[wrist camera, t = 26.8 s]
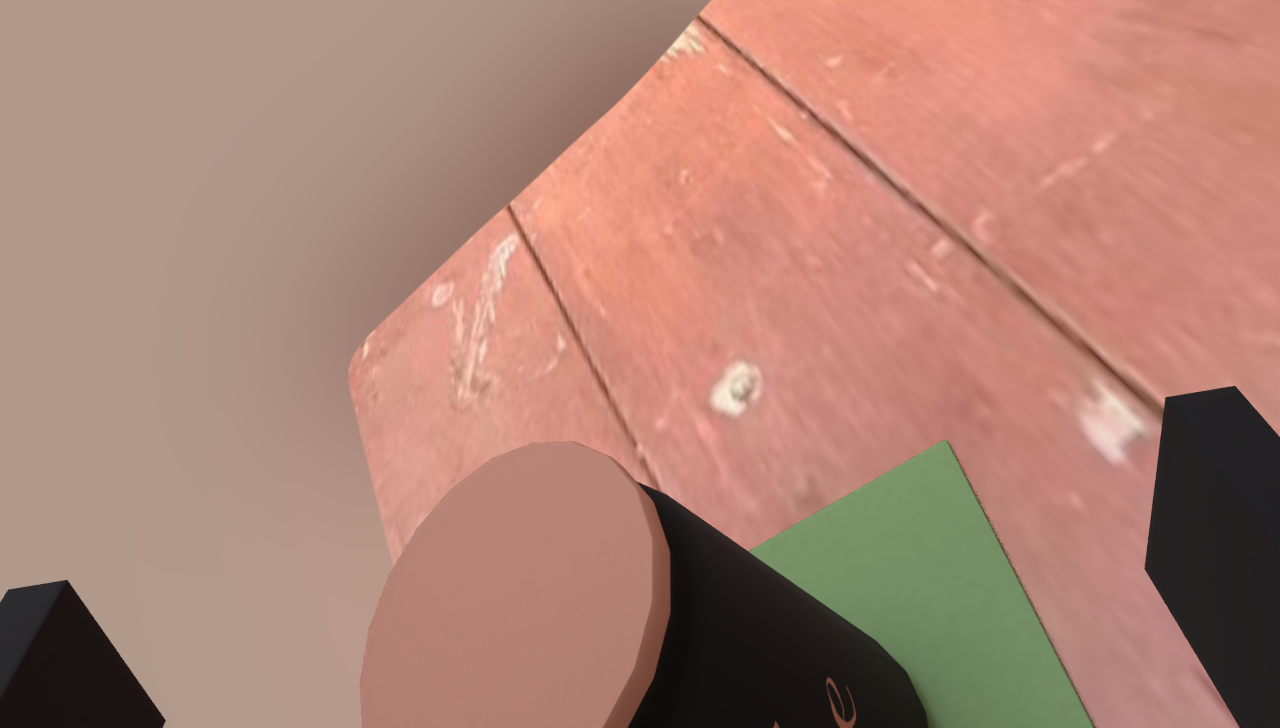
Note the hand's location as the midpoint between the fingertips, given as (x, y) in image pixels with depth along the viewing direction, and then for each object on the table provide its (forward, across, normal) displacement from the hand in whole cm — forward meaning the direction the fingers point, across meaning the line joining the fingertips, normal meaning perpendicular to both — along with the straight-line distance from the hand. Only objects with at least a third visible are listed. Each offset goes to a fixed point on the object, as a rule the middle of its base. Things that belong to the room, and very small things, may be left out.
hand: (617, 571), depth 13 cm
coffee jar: (+15, +3, -27) cm, 31 cm away
